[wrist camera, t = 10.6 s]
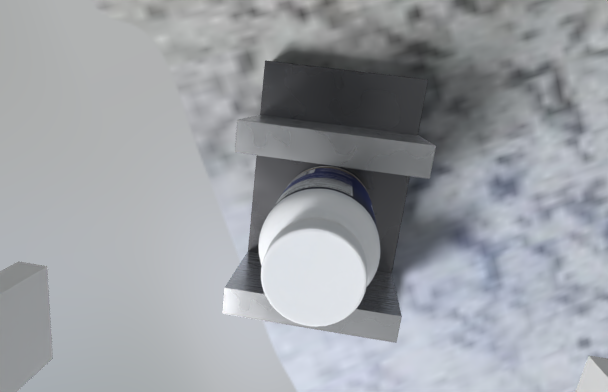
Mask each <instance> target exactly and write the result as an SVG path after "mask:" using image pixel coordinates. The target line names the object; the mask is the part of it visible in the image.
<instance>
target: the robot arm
mask: <svg viewBox="0 0 608 392" xmlns="http://www.w3.org/2000/svg"><path fill="white" fill-rule="evenodd" d="M47 275H48V274H47V266H42V265H36V264H30V263H24V262H17V263H15V264H13V265H11V266H9V267H8V268H6V269H4V270H2V271H0V392H17V391H18V390H19V389H20V388H21V387H22V386H23V385H25V384H26V382H28V381H29V380H30V379H31V378H32V377H33V376H34V375H36V374H37V373H38V372H39V371H40V370H41V369H42V368H43V367H44V366H45V365H46V364H48V362H50V361H51V360H52V359H53V353H52V337H51V321H50V306H49V290H48V276H47ZM575 392H608V359H606V358H600V357H594V356H588V358H587V361H586V364H585V367H584V369H583V372H582V375H581V378H580V380H579V383H578V386H577V389H576V391H575Z"/></svg>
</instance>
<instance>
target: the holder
mask: <svg viewBox="0 0 608 392" xmlns="http://www.w3.org/2000/svg"><path fill="white" fill-rule="evenodd" d="M427 83H428V80H425V79H417V78H408V77H400V76H391V75H383V74H375V73H366V72H358V71H349V70H341V69H332V68H324V67H315V66H307V65H298V64H290V63H282V62H273V61H265V69H264V80H263V91H262V102H261V113H260V115H258V116H253V117H248V118H244V119H239V120H237V130H236V143H235V152H236V153H244V154H251V155H257V158H256V169H255V180H254V191H253V202H252V214H251V225H250V236H249V247H248V252H247V254H246V255H245V257H244V258H243V260H242V261H241V263H240V265H239V266H238V268H237V269H236V271H235V272H234V274H233V275H232V277H231V278H230V280H229V282H228V283H227V285H226V286H225V290H224V303H223V314H227V315H234V316H239V317H246V318H251V319H257V320H263V321H269V322H275V323H281V324H287V325H293V326H299V327H305V328H311V329H317V330H323V331H329V332H335V333H341V334H347V335H353V336H359V337H365V338H371V339H377V340H383V341H389V342H395V343H396V342H397V337H398V332H399V327H400V322H401V317H402V316H401V311H400V307H399V303H398V299H397V295H396V291H395V286H394V282H393V278H392V274H391V273H392V268H393V262H394V257H395V252H396V246H397V241H398V236H399V231H400V225H401V220H402V215H403V209H404V204H405V199H406V194H407V188H408V183H409V178H410V176H412V177H420V178H427V179H430V174H431V169H432V164H433V159H434V154H435V149H436V145H434V144H432V143H430V142H429V141H427V140H425V139H423V138H422V137H420V136H418V130H419V125H420V120H421V114H422V109H423V104H424V99H425V93H426V88H427ZM319 166H333V167H338V168H341V169H344V170H346V171H348V172H350V173H351V174H353V175H354V176H356V177H357V178H358V179H359V180H360V181H361V182H362V184H363V185H364V186H365V188H366V190H367V192H368V194H369V196H370V199H371V202H372V207H373V211H374V215H375V220H376V225H377V229H378V234H379V240H380V260H379V265H378V268H377V271H376V273H375V275H374V277H373V279H372V281H371V282H370V284H369V285H368V286H367V287H366V292H365V294H364V297H363V299H362V301H361V303H360V304H359V306H358V307H357V308H356V309H355V310H354V312H353V313H351V314H350V315H349V316H348V317H346V318H345V319H343V320H341V321H339V322H337V323H334V324H331V325H327V326H317V327H314V326H306V325H301V324H298V323H295V322H293V321H291V320H289V319H287V318H285V317H283V316H282V315H281V314H280V313H278V312H277V311H276V310H275V309H274V308H273V306H272V305H271V304H270V302H269V301H268V299H267V297H266V296H265V293H264V291H263V287H262V283H261V267H262V266H261V262H260V257H259V248H258V245H259V236H260V232H261V229H262V226H263V224H264V222H265V220H266V218H267V216H268V214H269V213H270V211H271V210H272V208H273V207H274V205H275V204H276V202H277V201H278V199H279V198H280V196H281V195H282V193H283V192H284V190H285V189H286V187H287V186H288V185H289V183H290V182H291V181H292V180H293V179H294V178H295V177H297V176H298V175H299V174H301V173H302V172H304V171H306V170H308V169H311V168H314V167H319Z"/></svg>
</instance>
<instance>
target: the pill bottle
mask: <svg viewBox="0 0 608 392" xmlns="http://www.w3.org/2000/svg"><path fill="white" fill-rule="evenodd" d="M258 248H259V257H260V262H261V266H262V267H261V283H262V287H263V291H264V293H265V296H266V297H267V299H268V301H269V302H270V304H271V305H272V306H273V308H274V309H275V310H276V311H277V312H278V313H280V314H281V315H282V316H283V317H285V318H287V319H289V320H291V321H293V322H295V323H298V324H301V325H306V326H314V327H317V326H327V325H331V324H334V323H337V322H339V321H341V320H343V319H345V318H346V317H348V316H349V315H350V314H351V313H353V312H354V310H355V309H356V308H357V307H358V306H359V304H360V303H361V301H362V299H363V297H364V294H365V292H366V287H367V286H368V285H369V284H370V282H371V281H372V279H373V277H374V275H375V273H376V271H377V268H378V265H379V260H380V240H379V234H378V229H377V225H376V220H375V215H374V211H373V207H372V202H371V199H370V196H369V194H368V192H367V190H366V188H365V186H364V185H363V184H362V182H361V181H360V180H359V179H358V178H357V177H356V176H354V175H353V174H351V173H350V172H348V171H346V170H344V169H341V168H338V167H333V166H319V167H314V168H311V169H308V170H306V171H304V172H302V173H301V174H299V175H298V176H297V177H295V178H294V179H293V180H292V181H291V182H290V183H289V185H288V186H287V187H286V189H285V190H284V192H283V193H282V195H281V196H280V198H279V199H278V201H277V202H276V204H275V205H274V207H273V208H272V210H271V211H270V213H269V214H268V216H267V218H266V220H265V222H264V224H263V226H262V229H261V232H260V236H259V245H258Z"/></svg>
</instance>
